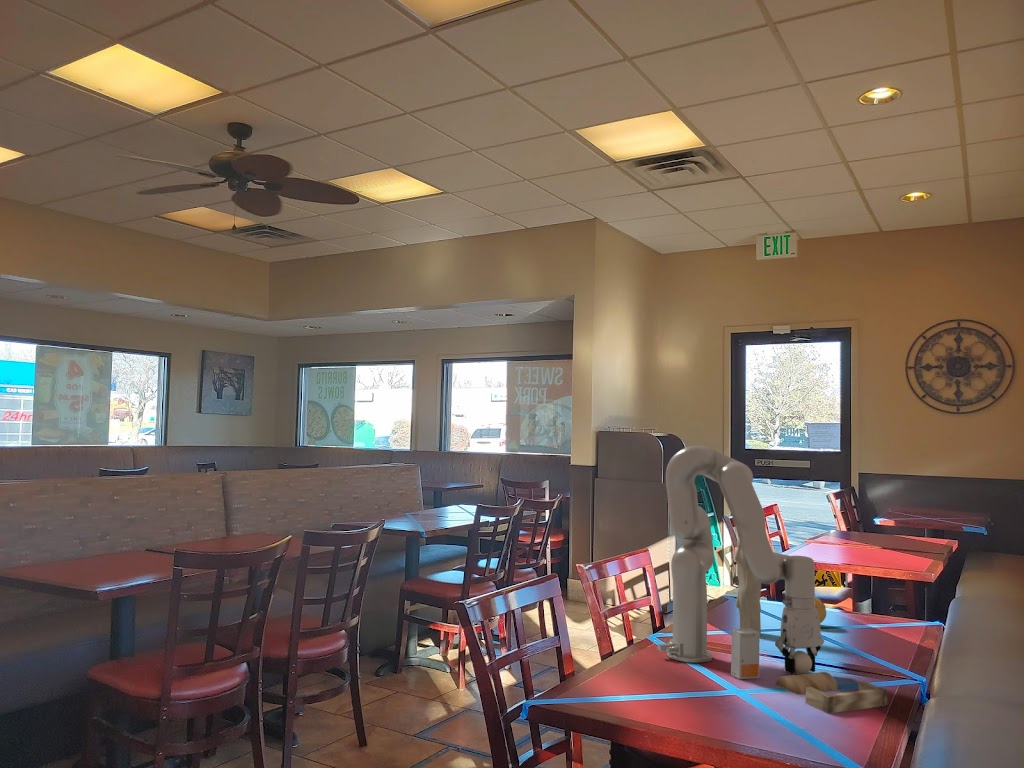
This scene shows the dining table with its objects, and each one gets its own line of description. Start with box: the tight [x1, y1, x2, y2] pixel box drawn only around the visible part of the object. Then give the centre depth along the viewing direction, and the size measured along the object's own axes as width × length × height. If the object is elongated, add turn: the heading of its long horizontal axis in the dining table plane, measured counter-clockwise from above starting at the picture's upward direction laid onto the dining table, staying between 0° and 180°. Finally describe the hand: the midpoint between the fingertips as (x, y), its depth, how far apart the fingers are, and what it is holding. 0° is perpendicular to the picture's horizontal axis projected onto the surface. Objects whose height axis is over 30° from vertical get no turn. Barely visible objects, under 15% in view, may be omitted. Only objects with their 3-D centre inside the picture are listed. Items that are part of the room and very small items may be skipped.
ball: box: [793, 650, 812, 675], centre depth 208 cm, size 6×6×6 cm
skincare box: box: [730, 628, 761, 680], centre depth 204 cm, size 6×4×12 cm
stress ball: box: [815, 596, 827, 624], centre depth 262 cm, size 10×10×10 cm
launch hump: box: [775, 671, 839, 695], centre depth 197 cm, size 13×8×8 cm, turn 110°
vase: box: [733, 538, 762, 634], centre depth 251 cm, size 9×8×30 cm
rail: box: [805, 680, 888, 714], centre depth 184 cm, size 18×7×4 cm, turn 110°
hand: (800, 670), depth 208 cm, fingers closed on ball, 6 cm apart
